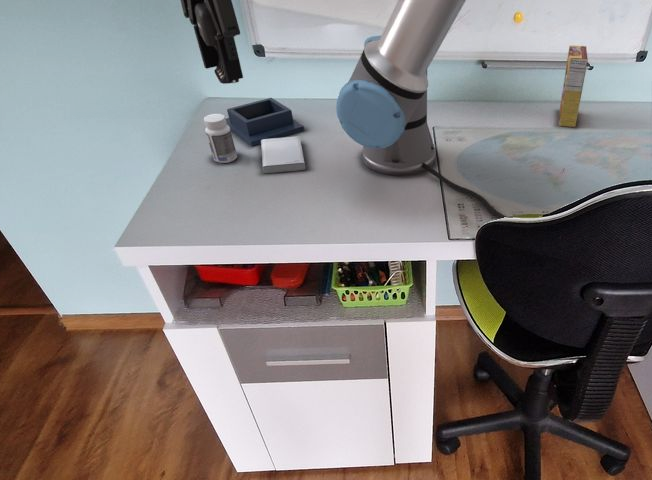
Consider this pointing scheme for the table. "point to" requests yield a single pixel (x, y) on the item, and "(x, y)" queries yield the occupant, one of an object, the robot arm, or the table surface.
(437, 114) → the table surface
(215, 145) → the pill bottle
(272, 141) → the hard drive
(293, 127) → the holder
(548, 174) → the table surface
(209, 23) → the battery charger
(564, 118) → the candy box
